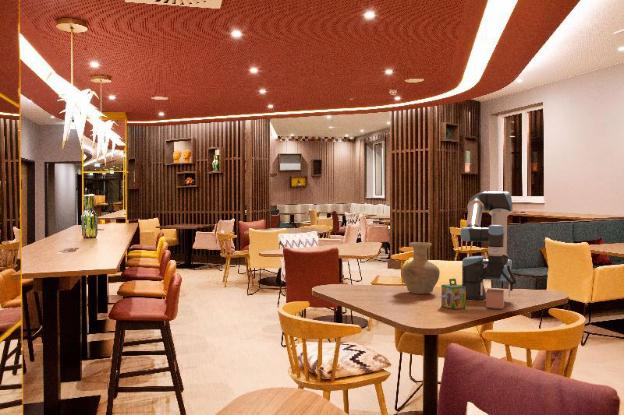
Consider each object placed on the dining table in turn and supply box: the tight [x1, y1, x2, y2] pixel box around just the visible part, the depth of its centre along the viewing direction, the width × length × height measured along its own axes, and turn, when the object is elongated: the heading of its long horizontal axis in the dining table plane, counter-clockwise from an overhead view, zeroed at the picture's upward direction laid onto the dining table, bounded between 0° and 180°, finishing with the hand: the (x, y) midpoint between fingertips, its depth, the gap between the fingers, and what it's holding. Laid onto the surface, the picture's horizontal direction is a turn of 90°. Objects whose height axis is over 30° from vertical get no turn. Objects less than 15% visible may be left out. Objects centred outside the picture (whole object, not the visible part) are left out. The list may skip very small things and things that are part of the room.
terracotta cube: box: [485, 288, 505, 309], centre depth 274 cm, size 8×8×8 cm
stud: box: [487, 307, 503, 311], centre depth 274 cm, size 7×7×8 cm
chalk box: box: [440, 278, 467, 310], centre depth 276 cm, size 9×9×15 cm
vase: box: [400, 241, 441, 295], centre depth 315 cm, size 22×22×30 cm
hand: (495, 296), depth 274 cm, fingers open, 13 cm apart
